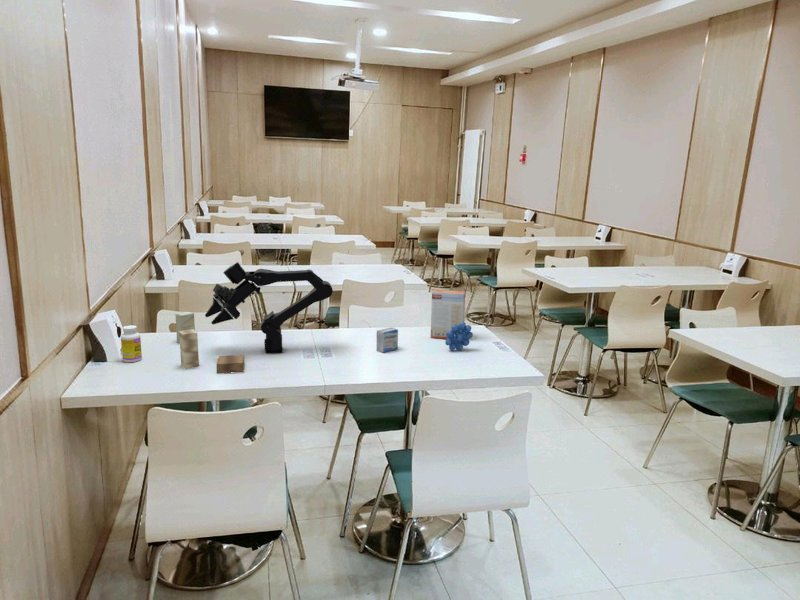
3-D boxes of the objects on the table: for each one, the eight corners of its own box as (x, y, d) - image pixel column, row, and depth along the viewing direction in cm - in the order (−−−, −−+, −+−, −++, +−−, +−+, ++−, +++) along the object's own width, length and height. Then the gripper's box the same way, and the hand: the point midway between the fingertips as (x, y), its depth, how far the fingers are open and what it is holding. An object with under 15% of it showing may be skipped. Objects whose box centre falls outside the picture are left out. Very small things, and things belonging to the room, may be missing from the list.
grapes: (468, 346, 246) (469, 319, 243) (473, 351, 240) (475, 323, 237) (441, 347, 243) (442, 320, 241) (446, 353, 237) (448, 324, 234)
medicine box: (383, 353, 235) (383, 332, 233) (376, 350, 238) (376, 330, 236) (397, 349, 240) (398, 329, 238) (390, 346, 243) (391, 326, 241)
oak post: (194, 362, 219) (192, 329, 216) (199, 366, 215) (197, 332, 212) (181, 365, 216) (179, 331, 213) (185, 369, 212) (183, 334, 209)
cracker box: (463, 337, 259) (466, 291, 254) (462, 341, 253) (464, 293, 249) (432, 334, 262) (434, 288, 257) (430, 338, 256) (431, 291, 252)
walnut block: (244, 364, 219) (244, 354, 218) (243, 373, 210) (242, 362, 210) (219, 366, 217) (219, 355, 216) (217, 374, 209) (216, 363, 208)
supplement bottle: (136, 363, 217) (133, 329, 214) (119, 362, 217) (116, 329, 214) (145, 357, 223) (142, 324, 220) (128, 356, 224) (125, 324, 221)
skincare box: (182, 344, 240) (180, 315, 237) (176, 342, 242) (174, 313, 239) (196, 341, 244) (194, 312, 242) (190, 339, 247) (188, 311, 244)
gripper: (221, 272, 229) (189, 298, 226) (235, 283, 214) (201, 312, 210) (238, 292, 235) (207, 318, 231) (253, 305, 220) (220, 333, 216)
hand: (208, 319), depth 222 cm, fingers open, 9 cm apart
